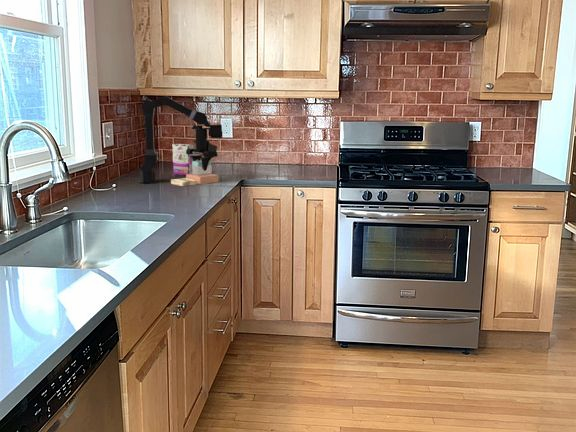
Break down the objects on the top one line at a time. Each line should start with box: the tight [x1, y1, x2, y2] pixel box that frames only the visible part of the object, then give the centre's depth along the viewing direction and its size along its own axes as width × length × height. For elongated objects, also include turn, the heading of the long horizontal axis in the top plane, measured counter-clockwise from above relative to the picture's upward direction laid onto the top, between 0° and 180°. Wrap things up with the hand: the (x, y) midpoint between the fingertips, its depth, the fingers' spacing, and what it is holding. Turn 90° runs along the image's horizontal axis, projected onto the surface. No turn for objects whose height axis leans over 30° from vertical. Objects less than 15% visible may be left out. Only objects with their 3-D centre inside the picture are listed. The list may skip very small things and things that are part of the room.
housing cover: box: [192, 160, 212, 166], centre depth 281 cm, size 5×8×3 cm, turn 134°
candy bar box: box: [171, 143, 195, 177], centre depth 303 cm, size 11×5×16 cm, turn 61°
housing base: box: [192, 164, 213, 175], centre depth 281 cm, size 5×8×4 cm, turn 134°
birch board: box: [170, 177, 198, 187], centre depth 275 cm, size 8×10×2 cm
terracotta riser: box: [185, 173, 219, 185], centre depth 282 cm, size 11×12×4 cm
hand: (201, 170), depth 282 cm, fingers open, 5 cm apart
